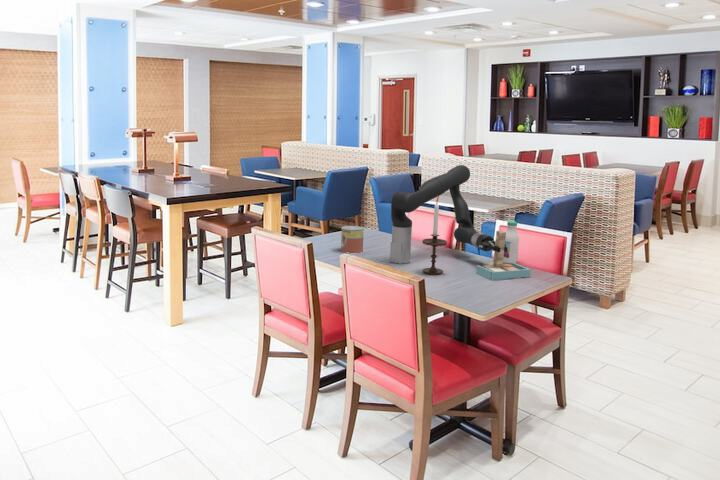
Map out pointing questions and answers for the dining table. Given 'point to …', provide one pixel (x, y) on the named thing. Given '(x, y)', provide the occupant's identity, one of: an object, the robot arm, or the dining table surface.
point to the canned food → (352, 239)
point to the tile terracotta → (509, 268)
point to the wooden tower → (499, 255)
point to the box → (504, 272)
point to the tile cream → (495, 269)
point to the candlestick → (434, 244)
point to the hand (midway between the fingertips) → (503, 249)
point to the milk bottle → (511, 243)
